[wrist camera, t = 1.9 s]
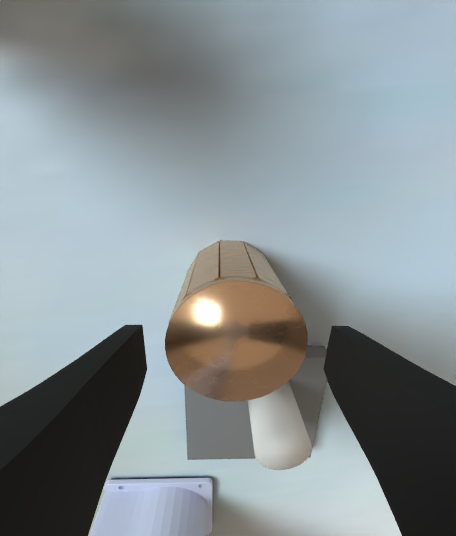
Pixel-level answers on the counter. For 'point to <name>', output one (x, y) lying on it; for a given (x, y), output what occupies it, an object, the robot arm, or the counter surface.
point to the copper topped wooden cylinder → (234, 326)
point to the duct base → (235, 418)
